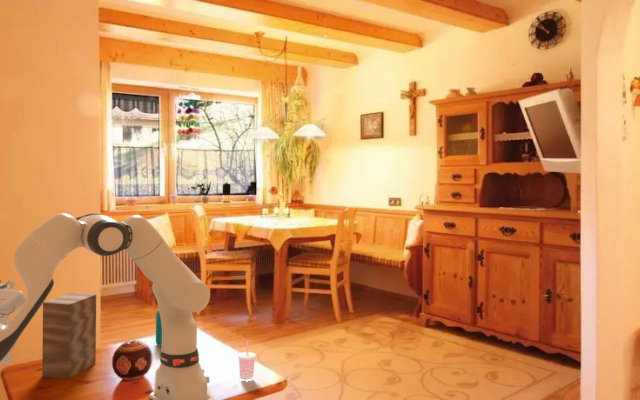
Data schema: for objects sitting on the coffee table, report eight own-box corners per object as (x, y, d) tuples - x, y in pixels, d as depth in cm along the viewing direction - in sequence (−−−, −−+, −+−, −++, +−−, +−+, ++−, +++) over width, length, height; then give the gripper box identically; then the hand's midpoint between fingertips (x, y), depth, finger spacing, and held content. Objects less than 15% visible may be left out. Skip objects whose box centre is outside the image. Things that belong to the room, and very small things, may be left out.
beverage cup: (252, 375, 191) (253, 337, 190) (257, 381, 185) (258, 342, 185) (235, 377, 188) (236, 339, 187) (240, 384, 183) (241, 344, 182)
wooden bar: (-1, 286, 154) (6, 283, 157) (-10, 285, 155) (-3, 283, 158) (3, 365, 157) (11, 360, 160) (-5, 364, 158) (2, 359, 161)
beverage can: (172, 343, 224) (172, 308, 224) (166, 347, 219) (167, 311, 218) (158, 342, 225) (159, 307, 224) (153, 346, 219) (153, 310, 219)
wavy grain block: (68, 379, 182) (69, 304, 181) (42, 376, 184) (42, 302, 183) (95, 363, 198) (96, 294, 197) (71, 360, 200) (71, 292, 199)
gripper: (2, 309, 144) (33, 276, 155) (-64, 304, 147) (-29, 272, 159) (10, 325, 147) (40, 292, 159) (-54, 320, 150) (-20, 288, 162)
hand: (5, 282), depth 159 cm, fingers closed on wooden bar, 3 cm apart
